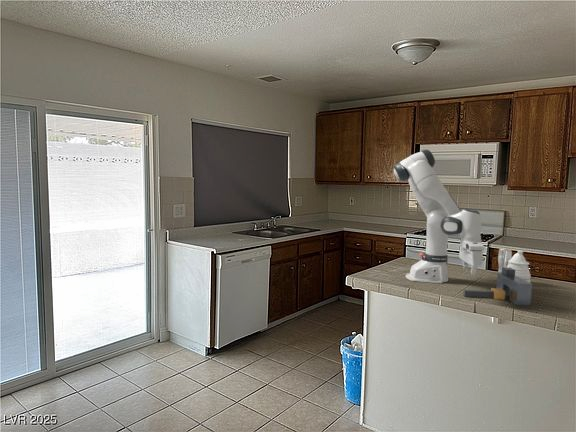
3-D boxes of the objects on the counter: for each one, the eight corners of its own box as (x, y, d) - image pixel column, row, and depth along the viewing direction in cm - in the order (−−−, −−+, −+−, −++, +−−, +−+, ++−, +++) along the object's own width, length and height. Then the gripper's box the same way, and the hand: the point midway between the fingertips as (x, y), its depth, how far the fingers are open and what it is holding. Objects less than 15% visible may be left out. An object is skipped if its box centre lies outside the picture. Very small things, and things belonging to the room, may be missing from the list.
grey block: (516, 305, 184) (518, 276, 183) (496, 291, 205) (498, 266, 204) (530, 305, 184) (532, 277, 183) (508, 292, 205) (510, 266, 203)
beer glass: (494, 273, 245) (496, 248, 244) (505, 273, 246) (507, 248, 244) (501, 276, 238) (503, 250, 237) (512, 276, 239) (514, 250, 237)
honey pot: (533, 286, 217) (536, 253, 215) (507, 284, 219) (510, 251, 217) (524, 280, 229) (527, 249, 227) (500, 279, 232) (502, 247, 230)
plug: (465, 297, 194) (466, 289, 193) (462, 294, 198) (462, 286, 198) (504, 299, 193) (505, 291, 192) (500, 296, 197) (501, 288, 197)
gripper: (456, 240, 204) (455, 267, 205) (471, 247, 183) (470, 277, 185) (469, 240, 203) (468, 267, 204) (485, 247, 183) (484, 277, 184)
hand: (469, 272), depth 194 cm, fingers open, 8 cm apart
